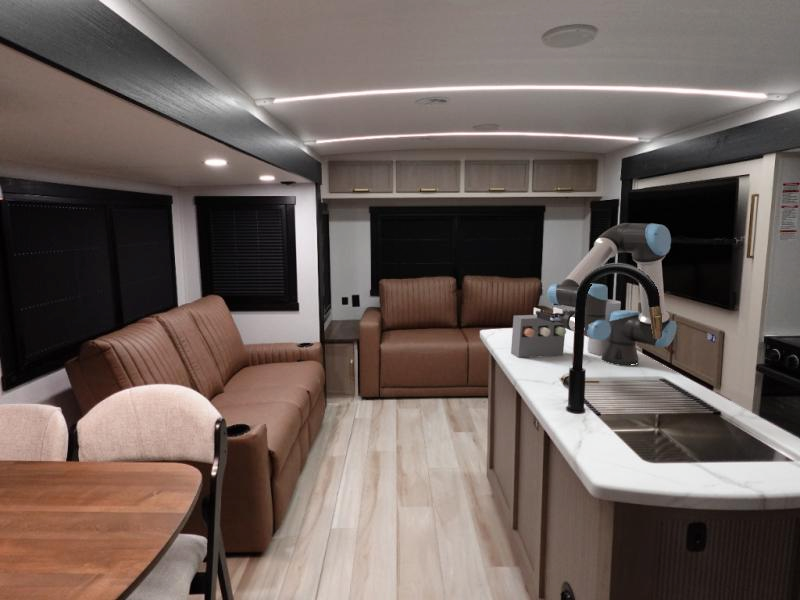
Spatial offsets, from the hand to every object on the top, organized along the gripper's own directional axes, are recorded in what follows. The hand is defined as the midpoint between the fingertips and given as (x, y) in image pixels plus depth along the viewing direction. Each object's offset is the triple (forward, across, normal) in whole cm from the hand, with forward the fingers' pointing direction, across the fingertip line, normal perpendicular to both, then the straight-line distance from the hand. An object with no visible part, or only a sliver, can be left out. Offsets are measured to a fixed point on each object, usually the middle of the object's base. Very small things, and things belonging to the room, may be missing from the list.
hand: (544, 310), depth 208 cm
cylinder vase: (+13, +41, -24) cm, 49 cm away
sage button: (+11, +16, -14) cm, 24 cm away
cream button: (+11, +8, -14) cm, 20 cm away
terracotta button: (+11, 0, -14) cm, 18 cm away
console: (+16, +8, -24) cm, 30 cm away
